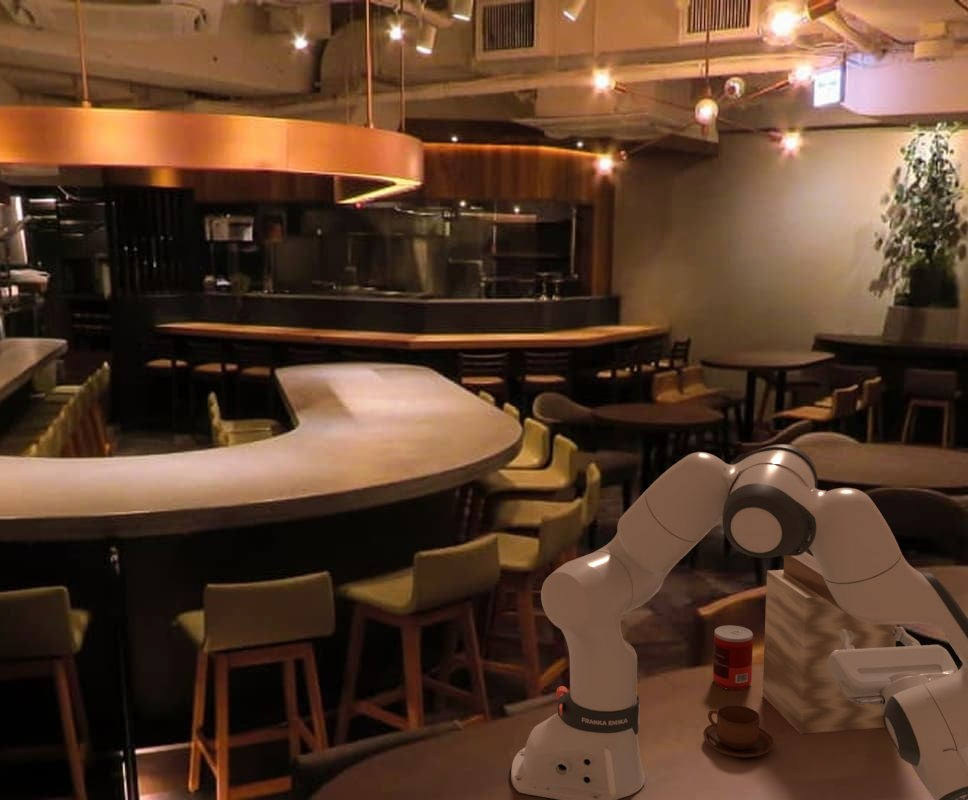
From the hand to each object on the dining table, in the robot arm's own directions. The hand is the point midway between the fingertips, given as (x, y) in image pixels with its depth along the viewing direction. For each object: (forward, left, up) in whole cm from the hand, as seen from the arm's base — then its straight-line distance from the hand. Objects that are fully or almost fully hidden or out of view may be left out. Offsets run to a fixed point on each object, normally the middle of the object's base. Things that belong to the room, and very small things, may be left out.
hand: (870, 630), depth 155 cm
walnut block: (-4, +15, +2) cm, 15 cm away
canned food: (-18, +31, -24) cm, 44 cm away
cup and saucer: (-21, +4, -25) cm, 32 cm away
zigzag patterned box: (-2, +20, -24) cm, 32 cm away
